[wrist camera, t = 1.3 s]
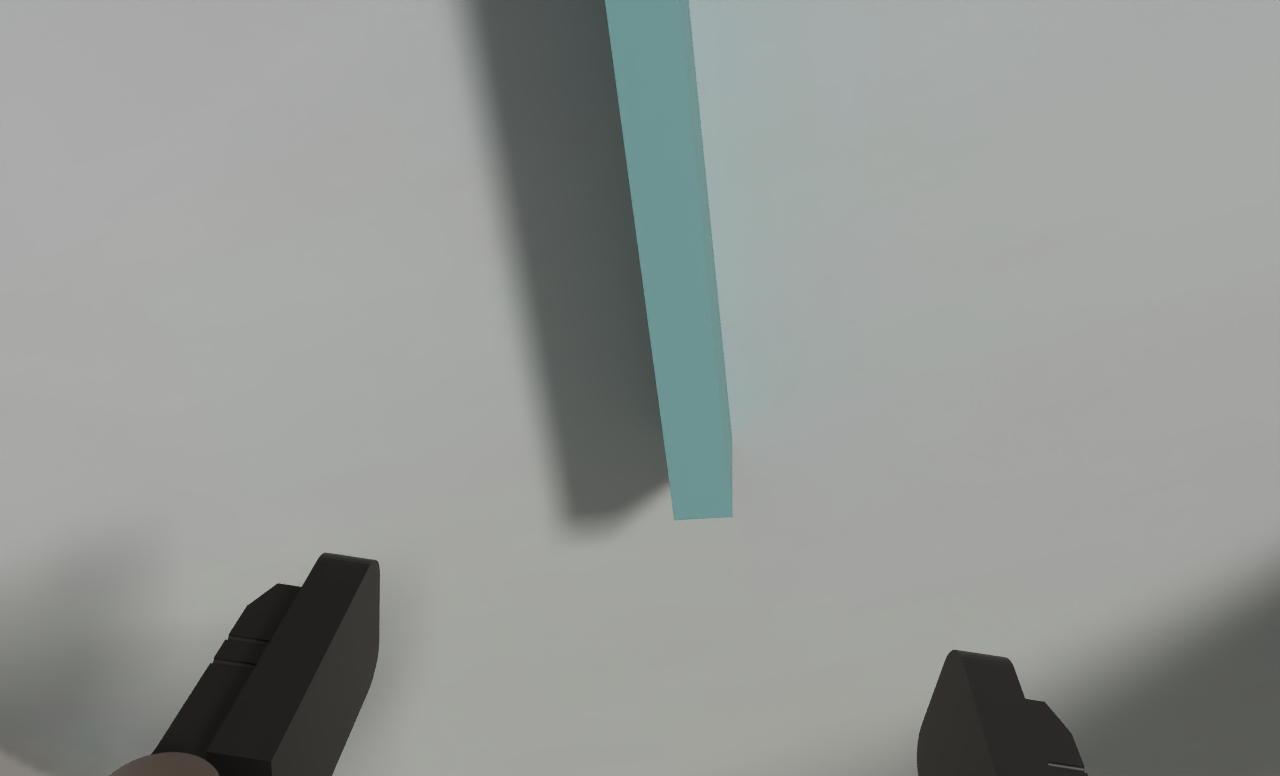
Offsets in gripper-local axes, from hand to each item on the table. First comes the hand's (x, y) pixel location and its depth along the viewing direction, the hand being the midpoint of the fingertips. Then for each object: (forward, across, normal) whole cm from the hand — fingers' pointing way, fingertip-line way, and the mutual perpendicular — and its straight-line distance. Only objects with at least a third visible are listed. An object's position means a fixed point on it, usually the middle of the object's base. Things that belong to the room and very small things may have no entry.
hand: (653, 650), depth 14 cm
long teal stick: (+17, +1, -5) cm, 18 cm away
